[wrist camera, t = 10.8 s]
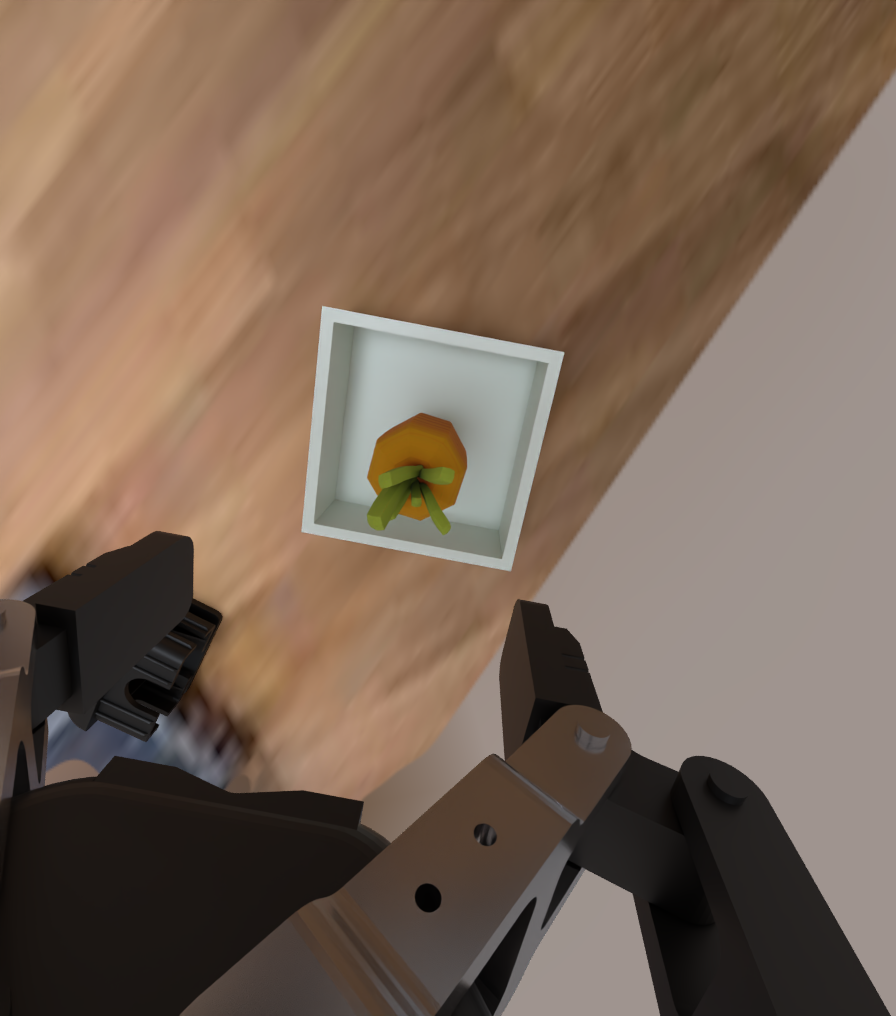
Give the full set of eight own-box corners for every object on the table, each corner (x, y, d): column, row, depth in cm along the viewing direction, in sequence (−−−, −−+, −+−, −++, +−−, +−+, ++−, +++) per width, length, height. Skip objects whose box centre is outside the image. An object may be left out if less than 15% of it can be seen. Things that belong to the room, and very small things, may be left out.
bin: (348, 312, 33) (322, 306, 27) (549, 350, 33) (564, 352, 27) (328, 502, 37) (301, 532, 31) (505, 536, 37) (510, 571, 31)
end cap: (145, 568, 40) (82, 612, 33) (227, 609, 41) (180, 659, 34) (109, 658, 43) (44, 715, 36) (186, 695, 44) (135, 756, 37)
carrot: (467, 393, 33) (458, 437, 19) (473, 466, 35) (469, 557, 20) (393, 399, 33) (330, 448, 19) (402, 471, 35) (350, 564, 21)
